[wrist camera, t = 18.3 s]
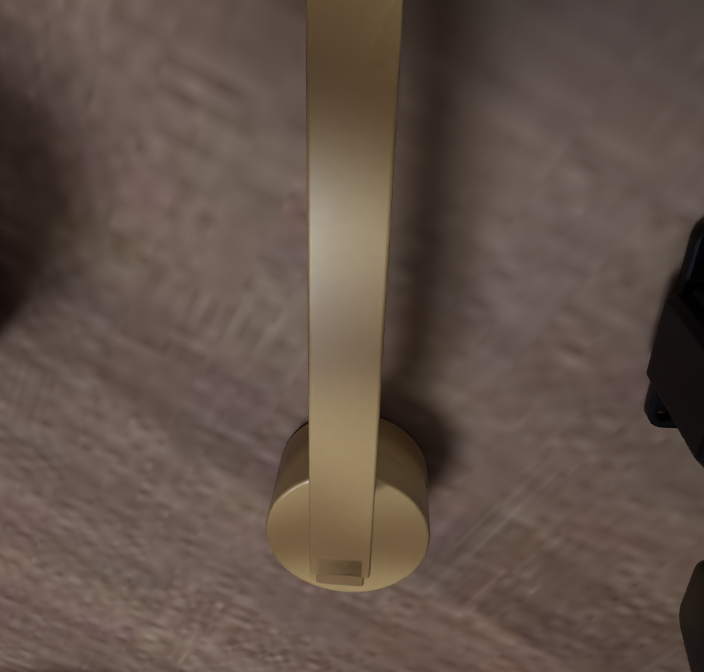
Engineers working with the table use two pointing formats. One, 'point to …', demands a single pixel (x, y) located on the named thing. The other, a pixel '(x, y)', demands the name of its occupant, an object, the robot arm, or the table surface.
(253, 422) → the table surface
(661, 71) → the table surface
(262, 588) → the table surface
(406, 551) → the ladle
